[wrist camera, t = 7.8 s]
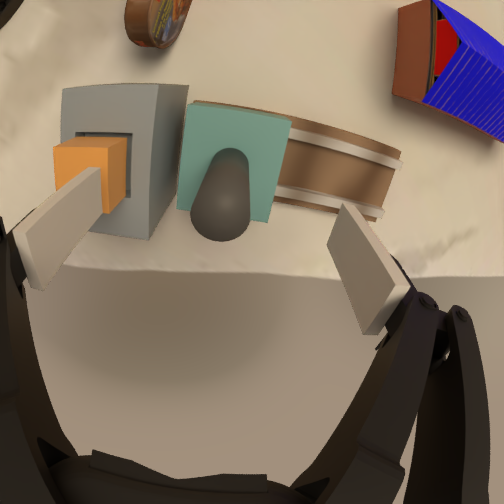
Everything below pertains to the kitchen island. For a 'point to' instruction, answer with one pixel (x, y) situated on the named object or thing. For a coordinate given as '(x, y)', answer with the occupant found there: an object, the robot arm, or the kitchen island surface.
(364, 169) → the rail bed
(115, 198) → the button
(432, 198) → the kitchen island surface
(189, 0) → the tin
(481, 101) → the house
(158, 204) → the cabinet
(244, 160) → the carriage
